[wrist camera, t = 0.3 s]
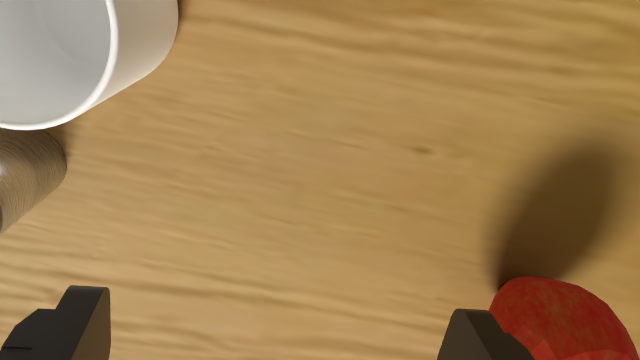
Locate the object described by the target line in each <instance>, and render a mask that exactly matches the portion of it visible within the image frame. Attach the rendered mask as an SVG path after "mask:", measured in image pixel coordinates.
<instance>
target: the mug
mask: <svg viewBox="0 0 640 360" xmlns="http://www.w3.org/2000/svg"><path fill="white" fill-rule="evenodd" d="M177 27H178V4H177V0H0V127H1V128H7V129H14V130H35V129H44V128H49V127H53V126H57V125H60V124H62V123H65V122H68V121H70V120H71V119H73V118H75V117H77V116H79V115H80V114H82V113H84V112H85V111H87V110H89V109H91V108H92V107H94V106H96V105H97V104H99V103H101V102H102V101H104V100H106V99H108V98H109V97H111V96H113V95H114V94H116V93H118V92H119V91H121V90H123V89H125V88H126V87H128V86H130V85H131V84H133V83H135V82H136V81H138V80H140V79H142V78H143V77H145V76H146V75H148V74H149V73H150V72H152V71H153V70H154V69H155V68H156V67H157V66H158V65H159V64H160V63H161V62H162V61H163V60H164V59H165V57H166V56H167V54H168V53H169V51H170V49H171V47H172V45H173V42H174V39H175V36H176V32H177Z"/></svg>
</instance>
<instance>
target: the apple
mask: <svg viewBox="0 0 640 360" xmlns="http://www.w3.org/2000/svg"><path fill="white" fill-rule="evenodd" d="M489 312H490V313H491V314H492V315H493V316H494V318H495V319H496V321H497V322H498V324H499V326H500V327H501V329H502V330H503V332H504V333H510V334H511V335H512V336H513V337H514V338H516V339H517V340H518V341H519V342H520V343H521V344H523V345H524V346H525V347H526V348H527V349H528V350H529V352H530V353H531V355H532V356H533V357H534V359H535V360H639V357H638V354H637V351H636V348H635V346H634V344H633V342H632V340H631V338H630V336H629V334H628V332H627V330H626V328H625V327H624V325H623V324H622V323H621V321H620V320H619V319H618V317H617V316H616V315H615V314H614V312H613V311H612V310H611V308H610V307H609V306H608V304H606V303H605V302H603V301H602V300H601V299H599V298H598V297H597V296H595V295H594V294H592V293H590V292H589V291H587V290H585V289H583V288H582V287H580V286H577V285H573V284H570V283H566V282H562V281H557V280H553V279H549V278H543V277H530V276H525V277H517V278H513V279H511V280H509V281H507V282H506V283H505V284H504V285H503V286H502V287H501V288H500V290H499V291H498V293H497V294H496V296H495V297H494V299H493V302H492V304H491V306H490V309H489Z"/></svg>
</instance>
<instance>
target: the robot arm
mask: <svg viewBox="0 0 640 360" xmlns="http://www.w3.org/2000/svg"><path fill="white" fill-rule="evenodd" d="M110 346H111V326H110V291H109V289H108V288H107V287H92V286H75V285H71V286H69V287H68V289H67V290H66V292H65V293H64V295H63V297H62V299H61V300H60V302H59V304H58V305H57V307H56V309H37V310H36V311H34V312H33V313H32V314H30V315H29V316H28V317H26V318H25V319H24V320H22V321H21V322H20V323H18V324H17V325H16V326H15V327H14V329H13V330H12V332H11V333H10V335H9V336H8V338H7V339H6V341H5V342H4V344H3V345H2V348H1V351H0V360H109V354H110ZM437 360H535V359H534V357H533V356H532V355H531V353H530V352H529V350H528V349H527V348H526V347H525V346H524V345H523V344H521V343H520V342H519V341H518V340H517V339H516V338H514V337H513V336H512V335H511V334H510V333H504V332H503V330H502V329H501V327H500V326H499V324H498V322H497V321H496V319H495V318H494V316H493V315H492V314H491V313H490V312H489V311H487V310H475V309H456V310H455V311H454V312H453V314H452V316H451V319H450V322H449V325H448V328H447V331H446V334H445V336H444V339H443V342H442V345H441V348H440V351H439V354H438V358H437Z"/></svg>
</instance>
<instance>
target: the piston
mask: <svg viewBox="0 0 640 360" xmlns="http://www.w3.org/2000/svg"><path fill="white" fill-rule="evenodd" d="M65 174H66V160H65V156H64V153H63V151H62V149H61V148H60V146H59V144H58V143H57V142H56V141H55V140H54V139H53V138H52V137H51V136H50V135H49V134H48V133H46V132H45V131H43V130H42V129H35V130H14V129H7V128H1V127H0V235H1V234H2V233H3V232H5V231H6V230H7V229H8V228H9V227H11V226H12V225H13V224H14V223H15V222H17V221H18V220H19V219H20V218H21V217H23V216H24V215H25V214H26V213H27V212H29V211H30V210H31V209H32V208H33V207H35V206H36V205H37V204H38V203H39V202H41V201H42V200H43V199H44V198H45V197H47V196H48V195H49V194H50V193H51V192H53V191H54V190H55V189H56V188H57V187H58V186H59V185H60V184H61V183H62V181H63V179H64V177H65Z"/></svg>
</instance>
